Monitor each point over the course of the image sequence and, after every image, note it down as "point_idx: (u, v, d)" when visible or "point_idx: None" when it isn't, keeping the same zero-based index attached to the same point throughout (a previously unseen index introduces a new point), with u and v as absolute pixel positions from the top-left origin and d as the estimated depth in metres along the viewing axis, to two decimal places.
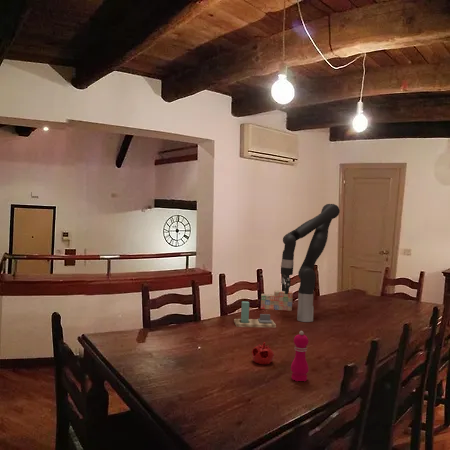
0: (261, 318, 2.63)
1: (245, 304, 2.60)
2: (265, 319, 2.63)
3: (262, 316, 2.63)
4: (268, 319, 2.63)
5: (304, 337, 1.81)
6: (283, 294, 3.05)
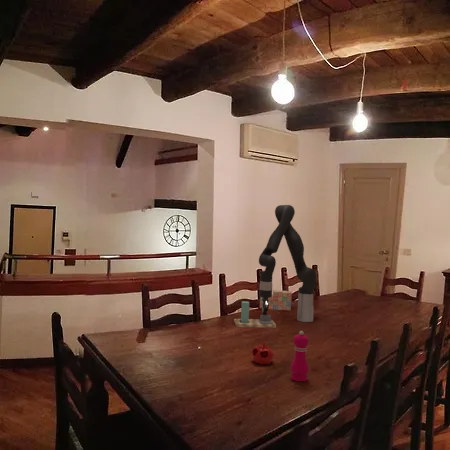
0: (261, 319, 2.61)
1: (245, 304, 2.60)
2: (265, 320, 2.61)
3: (262, 317, 2.61)
4: (268, 320, 2.62)
5: (304, 337, 1.81)
6: (282, 294, 3.05)
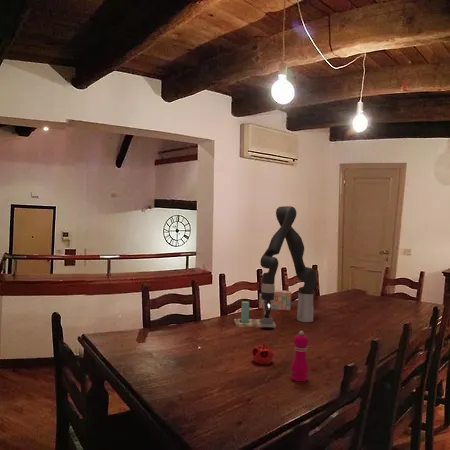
0: (263, 322, 2.55)
1: (245, 304, 2.60)
2: (267, 323, 2.55)
3: (264, 320, 2.55)
4: (271, 323, 2.55)
5: (304, 337, 1.81)
6: (282, 294, 3.05)
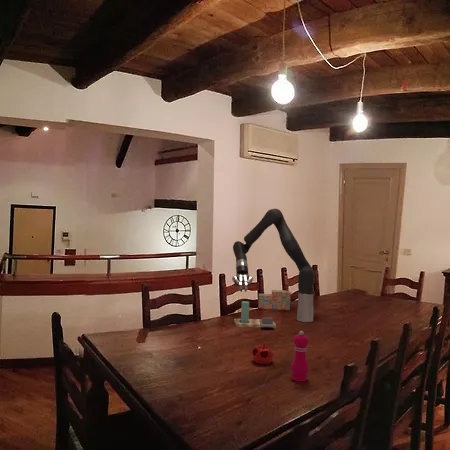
0: (263, 322, 2.55)
1: (245, 304, 2.60)
2: (267, 323, 2.55)
3: (264, 320, 2.55)
4: (271, 323, 2.55)
5: (304, 337, 1.81)
6: (281, 293, 3.06)
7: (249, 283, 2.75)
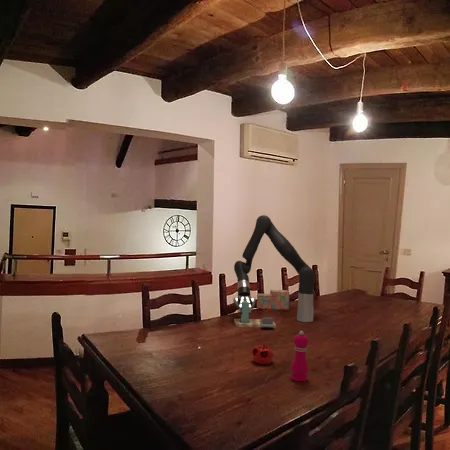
0: (263, 322, 2.55)
1: (245, 304, 2.60)
2: (267, 323, 2.55)
3: (264, 320, 2.55)
4: (271, 323, 2.55)
5: (304, 337, 1.81)
6: (280, 293, 3.07)
7: (253, 305, 2.63)
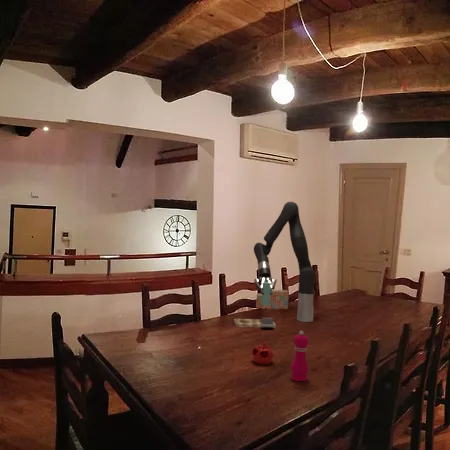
0: (263, 322, 2.55)
1: (266, 284, 2.61)
2: (267, 323, 2.55)
3: (264, 320, 2.55)
4: (271, 323, 2.55)
5: (304, 337, 1.81)
6: (280, 293, 3.08)
7: (274, 286, 2.64)
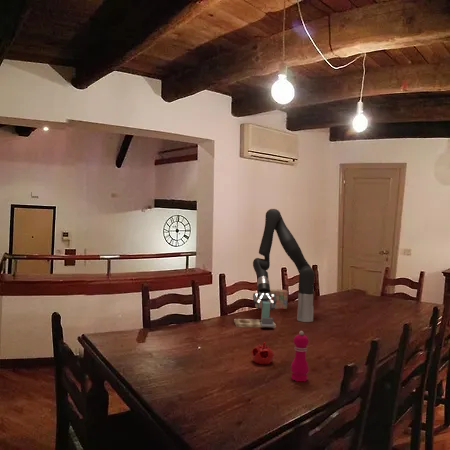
0: (263, 322, 2.55)
1: (266, 304, 2.61)
2: (267, 323, 2.55)
3: (264, 320, 2.55)
4: (271, 323, 2.55)
5: (304, 337, 1.81)
6: (279, 293, 3.08)
7: (275, 301, 2.65)
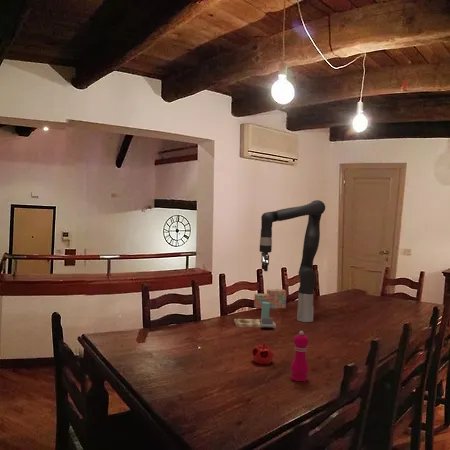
0: (263, 322, 2.55)
1: (266, 304, 2.61)
2: (267, 323, 2.55)
3: (264, 320, 2.55)
4: (271, 323, 2.55)
5: (304, 337, 1.81)
6: (278, 292, 3.09)
7: None
